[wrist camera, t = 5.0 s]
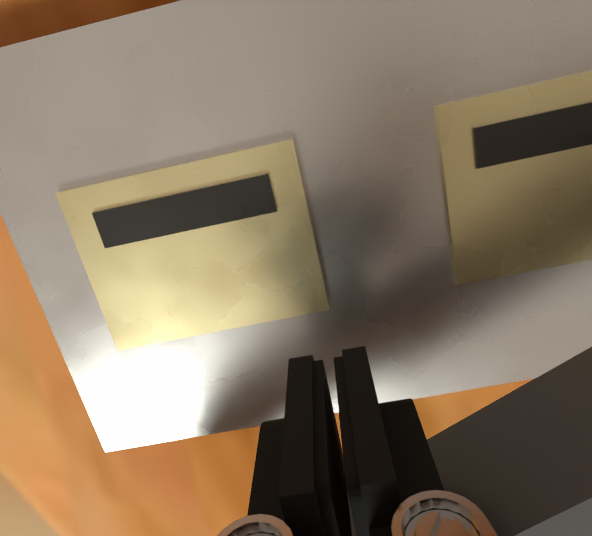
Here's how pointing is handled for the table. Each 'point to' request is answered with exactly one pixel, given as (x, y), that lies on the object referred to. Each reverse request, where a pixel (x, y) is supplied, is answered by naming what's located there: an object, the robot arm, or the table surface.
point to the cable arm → (526, 455)
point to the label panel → (301, 200)
